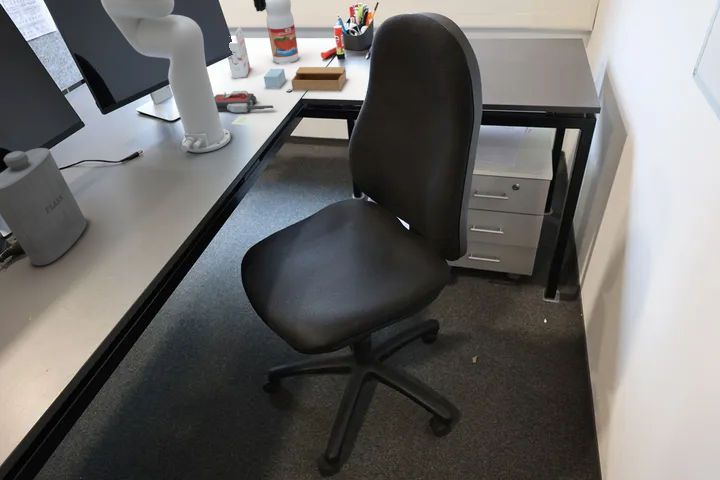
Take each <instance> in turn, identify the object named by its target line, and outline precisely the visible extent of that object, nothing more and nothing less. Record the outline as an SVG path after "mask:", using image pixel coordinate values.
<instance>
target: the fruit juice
mask: <svg viewBox="0 0 720 480" xmlns="http://www.w3.org/2000/svg"><path fill="white" fill-rule="evenodd" d="M265 1H266V7H265V12H266V27H267V31H268V37H269V44H270V49H271V50H270V51H271V55H272V59H273V61H274V63H276V64H288V63H290V64H291V63H295V62H296V61H297V60H299V49H298V42H297V33H296V27H295V20H294V16H293V14H292V11H291V10H292V9H291V8H292V2H291V0H265Z"/></svg>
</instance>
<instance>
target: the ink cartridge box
mask: <svg viewBox="0 0 720 480" xmlns="http://www.w3.org/2000/svg"><path fill="white" fill-rule="evenodd" d="M234 34H235V35H230V36H231V39H232V42H230V43H229V48H230V50H231V51H232V54H233V55H231V56H229V57H227V60H228V64H229V69H230V72H231V77H232V79H240V78H241V79H242V78H246V77H247V76H248V74H249V72H250V70H251V65H250V60H249V55H248V50H247V45H246V40H245V36H244V33H243V28H242V26H241V25H240V26H239V27H238V28H237V29H236V31H235V32H234Z"/></svg>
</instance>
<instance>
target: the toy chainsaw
mask: <svg viewBox="0 0 720 480" xmlns="http://www.w3.org/2000/svg"><path fill="white" fill-rule="evenodd" d="M214 98H215V102H216V106H217V109H218V112H226V111H227V112H228V111H229V112H232V113H248V111H252V110H253V111H254V110H265V109H274V105H270V104H269V105H254V104H256V103H257V97H256V95H254V93H251V92H250V93H249V92H248V91H247V90H233V91H232V92H231V93H227V92H226V91H225V92H224V93H220V94H215V95H214Z"/></svg>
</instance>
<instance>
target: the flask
mask: <svg viewBox="0 0 720 480" xmlns="http://www.w3.org/2000/svg"><path fill="white" fill-rule="evenodd" d="M3 162H4V163H5V165H6V167H7V168H6V169H5V170H3V171H2V172H0V217H1V218H2V220H3V221H4V222H5V224H6V225H7V227H8V228H9V230H10V232H11V233H12V235H13V236H14V238H15V239H16V241H17V242H18V244H19V245H20V247H21V249H22V250H23V252H24V253H25V254H26V256H27V258H28V259H29V261H30V262H31V264H32V265H34V266H40V267H41V266H47V265H50V264H52V263H53V262H55V261H56V260H58V259H60V258H61V257H62V256H63V255H64V254H65V253H66V252H67V251H68V250H70V248H72V246H73V245H75V243H76V242H77V241H78V239H79V238H80V237H81V236H82V234H83V232H84V231H85V229H86V228H87V225H88V224H87V222H88V221H87V219H86V218H85V216H84V214H83V212H82V210H81V208H80V206H79V204H78V202H77V200H76V198H75V197H74V195H73V192H72V191H71V189H70V188H69V185H68V183H67V182H66V179H65V178H64V176H63V173H62V172H61V170H60V168H59V166H58V164H57V162H56V160H55V159H54V156H53V154H52V153H51V151H50V149H49V148H46V147H36V148H31V149H29V150H27V151H21V150H16V151H12V152H9V153H7V154H6V155H5V156H4V158H3Z"/></svg>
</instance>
